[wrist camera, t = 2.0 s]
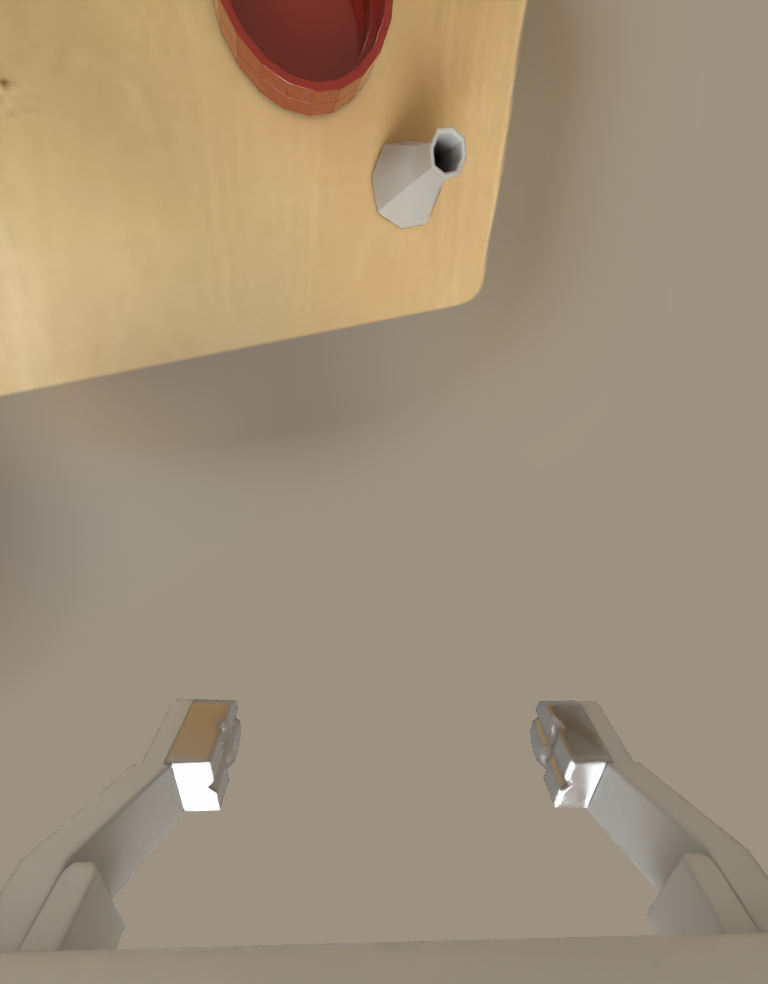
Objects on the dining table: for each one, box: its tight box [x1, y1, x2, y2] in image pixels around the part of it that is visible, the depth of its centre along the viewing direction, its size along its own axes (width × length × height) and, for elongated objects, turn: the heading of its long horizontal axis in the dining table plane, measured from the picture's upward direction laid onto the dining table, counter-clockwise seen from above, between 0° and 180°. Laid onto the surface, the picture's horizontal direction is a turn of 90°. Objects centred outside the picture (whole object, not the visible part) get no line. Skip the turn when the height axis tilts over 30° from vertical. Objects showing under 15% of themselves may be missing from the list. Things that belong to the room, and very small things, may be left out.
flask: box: [372, 127, 466, 228], centre depth 35 cm, size 7×7×10 cm
